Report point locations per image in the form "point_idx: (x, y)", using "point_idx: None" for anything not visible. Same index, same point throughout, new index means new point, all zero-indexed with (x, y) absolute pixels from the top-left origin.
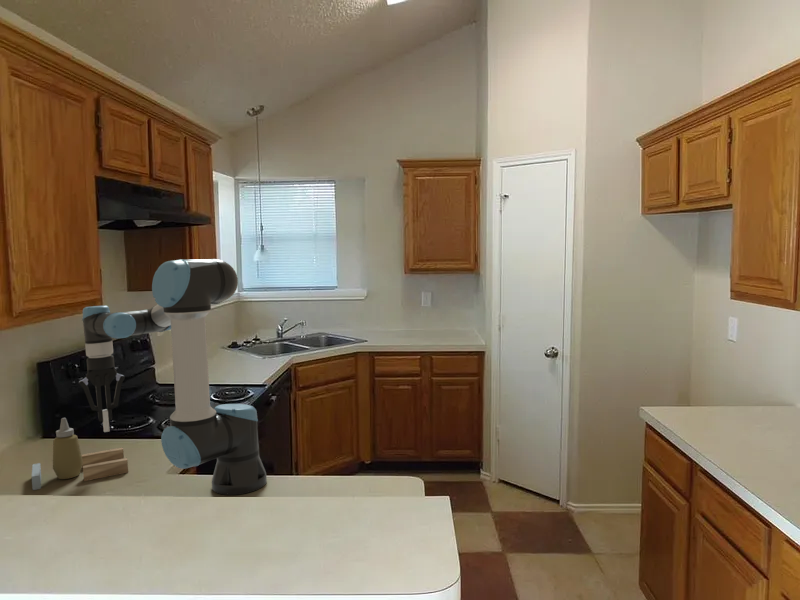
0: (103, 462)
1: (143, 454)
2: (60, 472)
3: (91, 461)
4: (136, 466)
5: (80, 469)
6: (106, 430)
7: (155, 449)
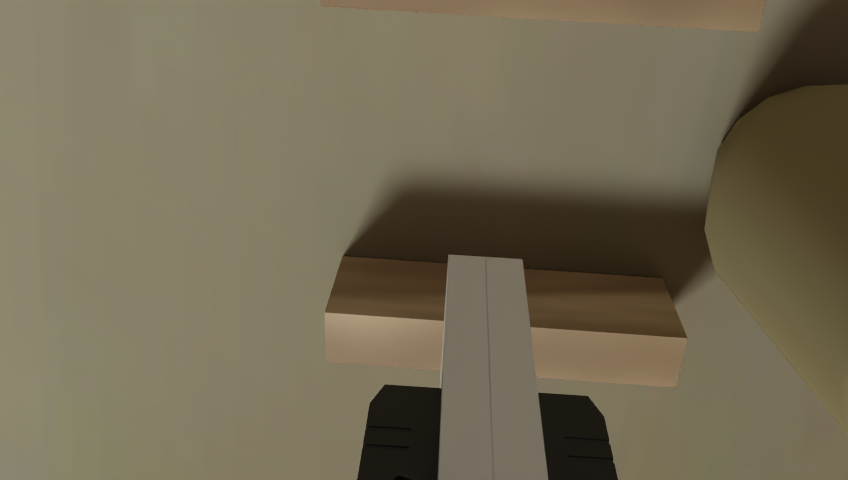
0: (556, 6)
1: (186, 316)
2: None
3: (595, 298)
4: (259, 44)
5: (724, 150)
6: (490, 269)
7: (93, 372)
